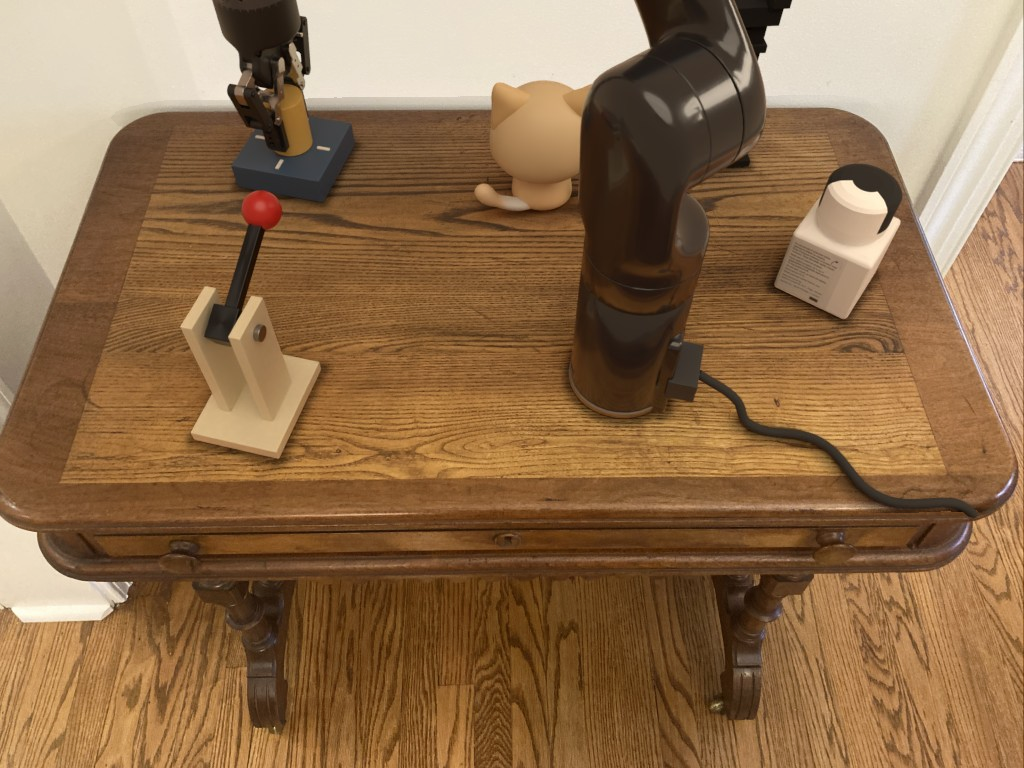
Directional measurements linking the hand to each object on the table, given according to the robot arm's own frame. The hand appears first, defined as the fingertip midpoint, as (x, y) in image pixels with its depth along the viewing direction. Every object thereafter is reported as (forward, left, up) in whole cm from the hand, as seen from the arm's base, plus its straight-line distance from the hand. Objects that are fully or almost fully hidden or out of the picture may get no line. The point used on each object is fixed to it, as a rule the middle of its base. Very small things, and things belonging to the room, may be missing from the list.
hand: (289, 133), depth 92 cm
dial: (0, 0, -1) cm, 1 cm away
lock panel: (0, 0, -4) cm, 4 cm away
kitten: (-28, -2, -5) cm, 29 cm away
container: (-58, +3, -5) cm, 58 cm away
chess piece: (-44, -15, -5) cm, 47 cm away
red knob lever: (-9, +26, +7) cm, 28 cm away
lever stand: (-9, +31, -4) cm, 33 cm away
